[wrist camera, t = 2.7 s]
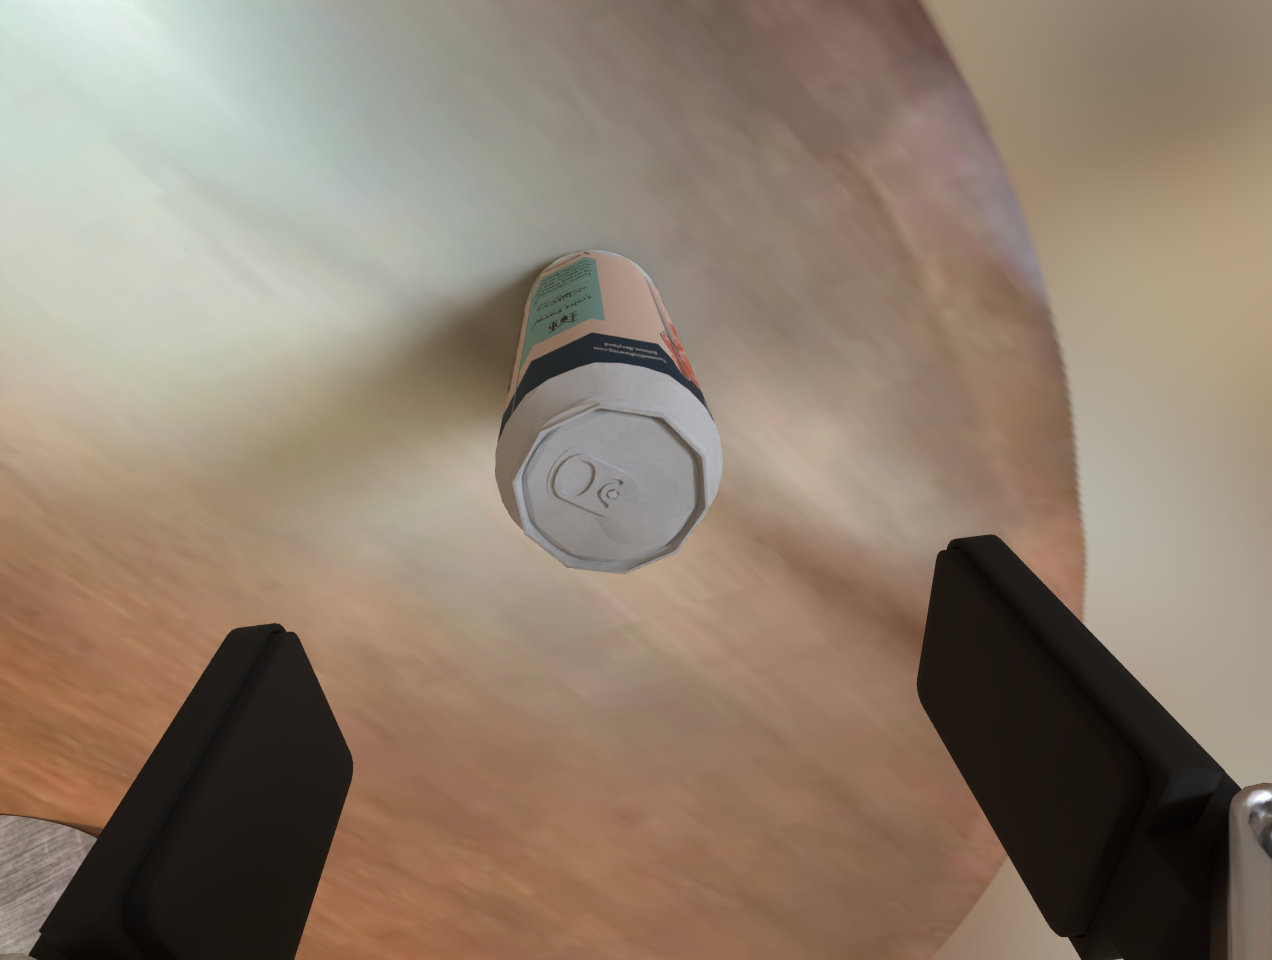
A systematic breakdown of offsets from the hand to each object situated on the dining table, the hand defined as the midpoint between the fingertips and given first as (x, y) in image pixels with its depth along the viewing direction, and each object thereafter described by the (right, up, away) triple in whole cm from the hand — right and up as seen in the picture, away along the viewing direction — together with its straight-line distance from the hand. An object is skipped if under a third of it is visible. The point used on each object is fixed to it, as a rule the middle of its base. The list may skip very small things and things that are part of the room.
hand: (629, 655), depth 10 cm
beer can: (-1, +8, +14) cm, 16 cm away
